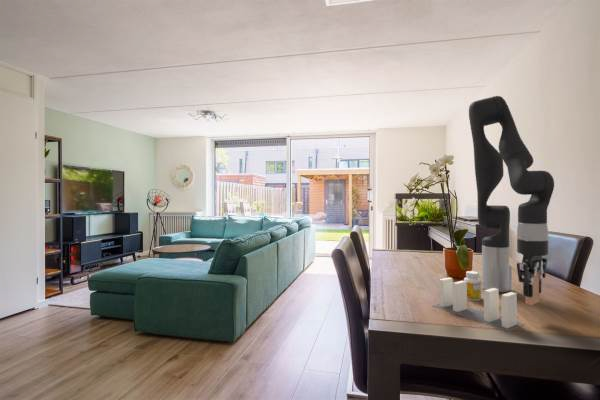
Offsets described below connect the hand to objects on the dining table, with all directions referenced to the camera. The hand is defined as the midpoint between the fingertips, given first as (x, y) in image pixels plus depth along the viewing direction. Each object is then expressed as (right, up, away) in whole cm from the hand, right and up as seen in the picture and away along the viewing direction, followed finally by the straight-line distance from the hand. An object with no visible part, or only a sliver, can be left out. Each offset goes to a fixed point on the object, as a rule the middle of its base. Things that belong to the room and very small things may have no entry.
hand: (532, 294), depth 96 cm
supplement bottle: (-7, -8, +20) cm, 23 cm away
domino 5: (0, -2, 0) cm, 2 cm away
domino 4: (-10, -8, -4) cm, 13 cm away
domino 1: (-20, -7, +13) cm, 25 cm away
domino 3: (-12, -8, 0) cm, 14 cm away
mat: (-15, -8, +4) cm, 17 cm away
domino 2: (-17, -8, +9) cm, 21 cm away
